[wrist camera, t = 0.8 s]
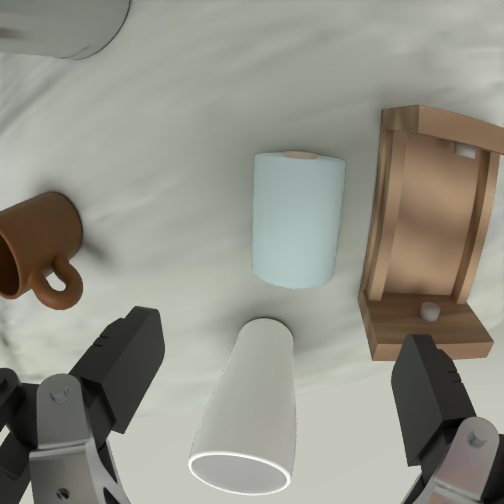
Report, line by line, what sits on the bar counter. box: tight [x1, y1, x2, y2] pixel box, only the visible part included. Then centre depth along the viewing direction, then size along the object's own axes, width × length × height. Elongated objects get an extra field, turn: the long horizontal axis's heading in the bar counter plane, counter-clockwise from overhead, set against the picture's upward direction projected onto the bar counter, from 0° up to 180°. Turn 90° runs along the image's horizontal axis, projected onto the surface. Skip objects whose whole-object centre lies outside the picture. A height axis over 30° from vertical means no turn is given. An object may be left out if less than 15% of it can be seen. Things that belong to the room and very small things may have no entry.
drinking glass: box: [188, 318, 296, 495], centre depth 23 cm, size 7×7×15 cm
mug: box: [0, 192, 83, 310], centre depth 24 cm, size 12×8×9 cm, turn 60°
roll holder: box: [358, 105, 504, 361], centre depth 19 cm, size 16×10×8 cm, turn 179°
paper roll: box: [252, 151, 346, 289], centre depth 21 cm, size 9×6×6 cm
